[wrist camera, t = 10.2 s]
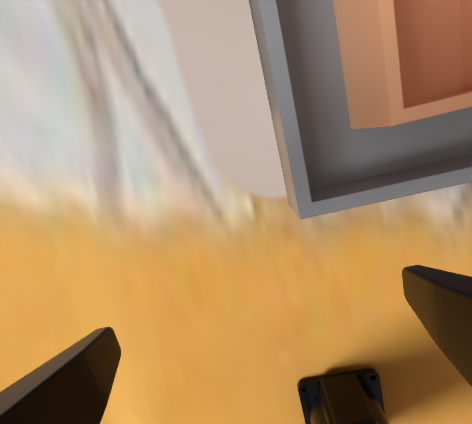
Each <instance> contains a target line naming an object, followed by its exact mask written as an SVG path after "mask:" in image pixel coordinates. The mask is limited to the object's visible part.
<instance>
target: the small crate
mask: <svg viewBox="0 0 472 424" xmlns="http://www.w3.org/2000/svg"><path fill="white" fill-rule="evenodd" d="M333 4H334V11H335V18H336V26H337V33H338V40H339V47H340V54H341V61H342V68H343V75H344V82H345V89H346V96H347V104H348V111H349V118H350V125H351V129H363V128H375V127H387V126H394V125H398V124H402V123H406V122H410V121H415V120H419V119H423V118H427V117H431V116H435V115H439V114H443V113H447V112H451V111H456V110H460V109H464V108H468V107H472V0H333Z"/></svg>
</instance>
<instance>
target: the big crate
mask: <svg viewBox="0 0 472 424" xmlns="http://www.w3.org/2000/svg"><path fill="white" fill-rule="evenodd" d="M249 4H250V9H251V14H252V19H253V24H254V29H255V34H256V39H257V44H258V49H259V54H260V60H261V65H262V69H263V75H264V79H265V85H266V90H267V94H268V100H269V105H270V110H271V115H272V120H273V125H274V130H275V135H276V140H277V145H278V150H279V155H280V160H281V165H282V171H283V176H284V180H285V185H286V191H287V196H288V201H289V204H290V206H291V207H292V209H293V210H294V211H295V213H296V214H297V216H298V217H299V218H300V219H304V218H308V217H313V216H318V215H322V214H327V213H331V212H336V211H340V210H345V209H349V208H354V207H359V206H363V205H368V204H372V203H377V202H381V201H386V200H390V199H395V198H400V197H404V196H409V195H413V194H418V193H422V192H427V191H431V190H436V189H441V188H445V187H450V186H454V185H459V184H463V183H468V182H472V107H468V108H464V109H460V110H456V111H451V112H447V113H443V114H439V115H435V116H431V117H427V118H423V119H419V120H415V121H410V122H406V123H402V124H398V125H394V126H387V127H375V128H363V129H351V125H350V118H349V111H348V104H347V96H346V89H345V82H344V75H343V68H342V61H341V54H340V47H339V40H338V33H337V26H336V18H335V11H334V4H333V0H249Z"/></svg>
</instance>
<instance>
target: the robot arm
mask: <svg viewBox="0 0 472 424" xmlns="http://www.w3.org/2000/svg"><path fill="white" fill-rule="evenodd" d="M402 278H403V287H404V295H405V298H406V300H407V302H408V303H409V305H410V306H411V308H412V309H413V311H414V312H415V314H416V315H417V316H418V318H419V319H420V321H421V322H422V324H423V325H424V327H425V328H426V330H427V331H428V333H429V334H430V336H431V337H432V339H433V340H434V341H435V343H436V344H437V345H438V347H439V348H440V349H441V351H442V352H443V353H444V354H445V355H446V357H447V358H448V359H449V360H450V361H451V363H452V364H453V365H454V366H455V367H456V369H457V370H458V371H459V372H460V373H461V374H462V376H463V377H464V378H465V379H466V380H467V382H468V383H469V384H470V385H471V386H472V277H470V276H465V275H461V274H456V273H452V272H447V271H443V270H438V269H434V268H430V267H425V266H421V265H414V266H409V267H405V268H403V270H402ZM120 357H121V349H120V346H119V343H118V340H117V338H116V335H115V333H114V330H113V329H112V328H111V327H104V328H99V329H97V330H95V331H93V332H92V333H90V334H89V335H87V336H86V337H84V338H83V339H81V340H80V341H78V342H77V343H75V344H73V345H72V346H70V347H69V348H67V349H66V350H64V351H63V352H61V353H60V354H58V355H57V356H55V357H53V358H52V359H50V360H49V361H47V362H46V363H44V364H43V365H41V366H40V367H38V368H37V369H35V370H33V371H32V372H30V373H29V374H27V375H26V376H24V377H23V378H21V379H20V380H18V381H17V382H15V383H13V384H12V385H10V386H9V387H7V388H6V389H4V390H3V391H1V392H0V424H100V422H101V420H102V417H103V414H104V411H105V409H106V406H107V403H108V399H109V396H110V393H111V389H112V385H113V382H114V378H115V375H116V371H117V368H118V364H119V361H120ZM372 375H373V376H372ZM297 387H298V392H299V396H300V401H301V405H302V409H303V414H304V418H305V423H306V424H389V422H388V420H387V418H386V416H385V412H384V405H383V398H382V391H381V384H380V377H379V374H378V373H377V371H376V370H375V369H365V370H360V371H354V372H348V373H343V374H337V375H331V376H326V377H320V378H314V379H308V380H303V381H300V382H299V383H298V384H297ZM303 387H305V388H303Z"/></svg>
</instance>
